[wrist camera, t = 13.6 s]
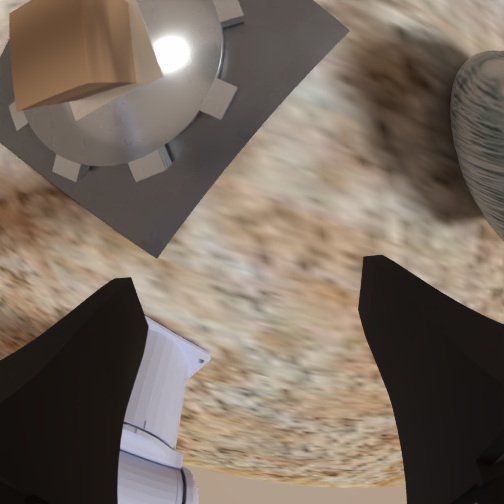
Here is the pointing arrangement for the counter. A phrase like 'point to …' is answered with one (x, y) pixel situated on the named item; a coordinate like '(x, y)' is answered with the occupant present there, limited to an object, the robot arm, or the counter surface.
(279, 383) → the counter surface
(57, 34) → the link block
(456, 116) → the grey oval stone
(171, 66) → the sprocket
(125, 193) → the plate
